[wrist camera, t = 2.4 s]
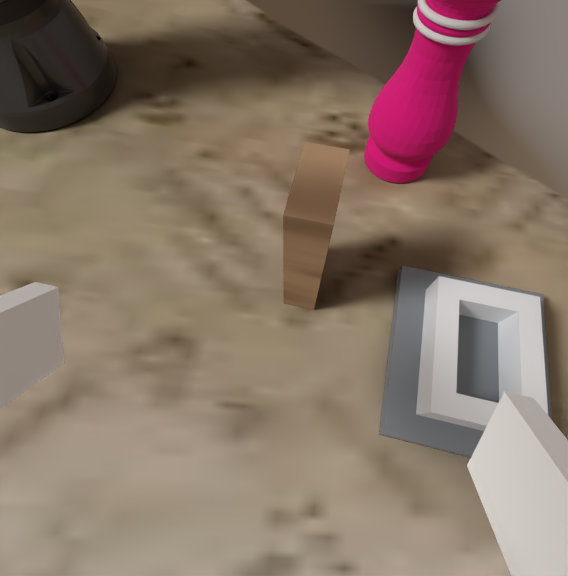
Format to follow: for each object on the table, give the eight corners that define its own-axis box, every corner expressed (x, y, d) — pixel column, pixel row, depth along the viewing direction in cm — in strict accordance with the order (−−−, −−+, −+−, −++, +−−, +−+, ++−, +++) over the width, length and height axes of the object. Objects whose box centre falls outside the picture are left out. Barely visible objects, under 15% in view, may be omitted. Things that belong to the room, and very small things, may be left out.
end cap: (397, 271, 29) (413, 250, 25) (533, 299, 28) (567, 280, 24) (379, 434, 24) (394, 433, 20) (543, 476, 23) (588, 482, 19)
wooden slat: (297, 251, 30) (304, 141, 19) (325, 257, 29) (349, 149, 18) (283, 303, 28) (283, 215, 17) (313, 310, 28) (333, 225, 17)
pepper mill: (360, 186, 33) (458, -138, 14) (357, 131, 35) (436, -196, 17) (436, 190, 32) (635, -133, 14) (428, 134, 35) (583, -194, 17)
